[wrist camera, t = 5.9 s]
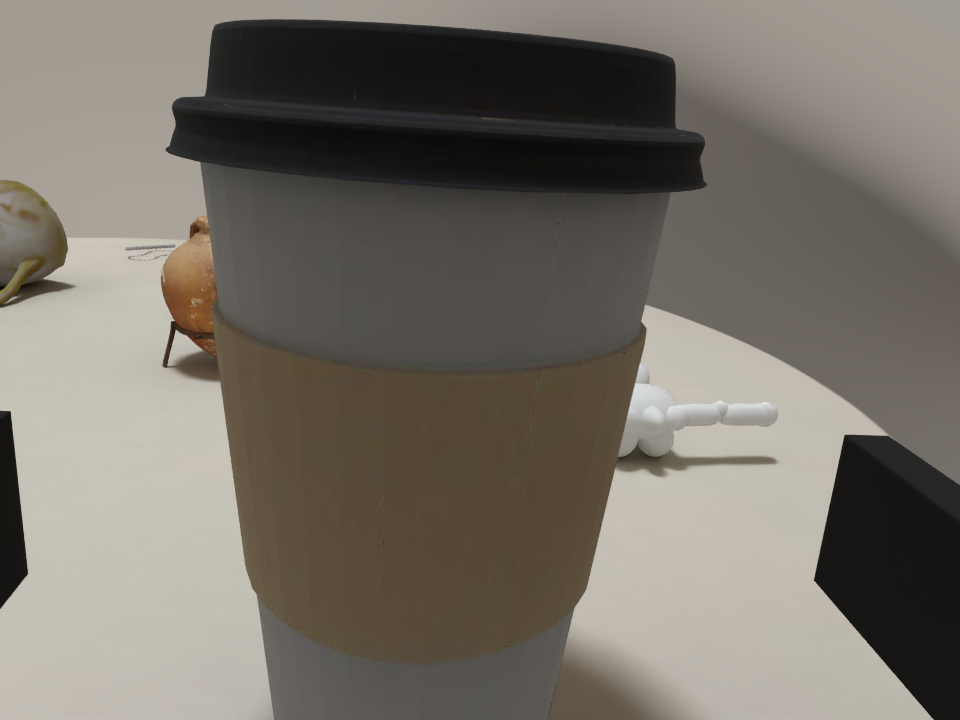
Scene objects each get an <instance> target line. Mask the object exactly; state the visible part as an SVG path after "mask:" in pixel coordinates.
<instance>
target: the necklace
mask: <svg viewBox="0 0 960 720" xmlns="http://www.w3.org/2000/svg"><path fill="white" fill-rule="evenodd" d="M168 247H169V248H171V247H172V248H173V247H175V245H162V246H161V245H159V246H158V245H156V246H154V245H153V246H147V247H146V246H145V247H144V246H142V247H138V246H137V247H135V248H134V247H126V250H134V249H135V250H141V249H143V250H144V249H154V248H155V249H157V248H160V249H161V248H168Z"/></svg>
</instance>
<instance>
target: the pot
mask: <svg viewBox="0 0 960 720" xmlns="http://www.w3.org/2000/svg"><path fill="white" fill-rule="evenodd" d="M161 286H162V292H163V296H164V299H165V302H166V304H167V306H168V308H169V311H170V313H171V315H172V318H173V319H174V320H175V321H173V322H171V330H170V335H169V339H168V344H167V348H166V352H165V356H164V360H163V366H165V367H167V363H168V359H169V354H170V350H171V347H172V342H173V339H174V335H175V329H176V330H177V331H179V332H180V333H182V334H184V335H187V336H188V337H189V338H190V339H191V340H192V341H193V342H194V343H195V344H196V345H198V346H199V347H200V348H201V349H203V350H204V351H206V352H208V353H209V354H211V355H213V356H215V357H217V353H216V345H215V338H214V331H213V323H212V316H211V309H212V306H213V302H214V299H215V298H217V297H218V294H217V287H216V279H215V271H214V263H213V256H212V248H211V240H210V232H209V225H208V217H207V216H203V217H197V219H196V221H194V222H193V223H192V224H191V226H190V240H188V241H187V242H185V243H183V244H182V245H180V246H179V247H178V248H176V249H175V250H174V251H173V252H172V253H171V254H170V256H169V257H168V259H167V260H166V262H165V264H164V265H163V269H162V273H161Z"/></svg>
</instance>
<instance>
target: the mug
mask: <svg viewBox="0 0 960 720" xmlns="http://www.w3.org/2000/svg"><path fill="white" fill-rule="evenodd" d="M67 251H68V246H67V239H66V235H65V232H64V229H63V226H62V224H61V222H60V220H59V218H58V216H57V214H56V213H55V212H54V210H53V209H52V208H51V206H50V205H49V204H48V203H47V202H46V201H45V200H44V199H43V198H42V197H41V196H40V195H39V194H38V193H37V192H35V191H34V190H33V189H31V188H30V187H28V186H26V185H24V184H22V183H20V182H16V181H9V180H3V181H0V286H6V287H5V288H4V289H3V290H1V291H0V305H1V304H3V303H5V302H6V301H8V300H9V299H10V298H11V297H13V295H14V294H15V293H16V292H17V291H18V290H19V288H20V287H21V285H24V284H29V283H32V282H35V281H38V280H40V279H42V278H44V277H46V276H48V275H49V274H51V273H52V272H53V271H55V270H56V269H57V268H59V267H61V266H63V265H64V263H65V259H66V254H67Z"/></svg>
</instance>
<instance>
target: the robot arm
mask: <svg viewBox="0 0 960 720" xmlns="http://www.w3.org/2000/svg"><path fill="white" fill-rule="evenodd" d="M27 574H28V569H27V559H26V550H25V541H24V532H23V522H22V513H21V504H20V495H19V485H18V476H17V467H16V458H15V448H14V439H13V430H12V421H11V411H0V609H1V607H2V606H3V605H4V604H5V602H6V601H7V600H8V598H9V597H10V596H11V595H12V593H13V592H14V591H15V590H16V588H17V587H18V586H19V585H20V583H21V582H22V581H23V579H24V578H25V577H26V576H27ZM814 581H815V582H816V583H817V584H818V586H819V587H820V588H821V589H822V590H823V591H824V593H825V594H826V595H827V596H828V597H829V598H830V599H831V601H832V602H833V603H834V604H835V605H836V606H837V608H838V609H839V610H840V611H841V612H842V613H843V615H844V616H845V617H846V618H847V619H848V620H849V622H850V623H851V624H852V625H853V626H854V627H855V629H856V630H857V631H858V632H859V633H860V634H861V636H862V637H863V638H864V639H865V640H866V641H867V643H868V644H869V645H870V646H871V647H872V648H873V650H874V651H875V652H876V653H877V654H878V655H879V657H880V658H881V659H882V660H883V661H884V662H885V663H886V665H887V666H888V667H889V668H890V669H891V670H892V672H893V673H894V674H895V675H896V676H897V677H898V679H899V680H900V681H901V682H902V683H903V684H904V686H905V687H906V688H907V689H908V690H909V691H910V693H911V694H912V695H913V696H914V697H915V698H916V700H917V701H918V702H919V703H920V704H921V705H922V707H923V708H924V709H925V710H926V711H927V712H928V714H929V715H930V716H931V717H932V718H933V719H934V720H960V485H959V484H957V483H956V482H954V481H953V480H951V479H950V478H948V477H947V476H945V475H944V474H943V473H941V472H940V471H938V470H937V469H935V468H934V467H932V466H931V465H929V464H928V463H927V462H925V461H924V460H922V459H921V458H919V457H918V456H917V455H915V454H914V453H912V452H911V451H909V450H908V449H906V448H905V447H903V446H902V445H901V444H899V443H898V442H896V441H895V440H893V439H892V438H890V437H889V436H872V435H845V436H844V440H843V445H842V450H841V455H840V459H839V464H838V469H837V474H836V478H835V483H834V488H833V492H832V497H831V502H830V507H829V511H828V516H827V521H826V526H825V530H824V535H823V540H822V545H821V549H820V554H819V559H818V563H817V568H816V573H815V578H814Z"/></svg>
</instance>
